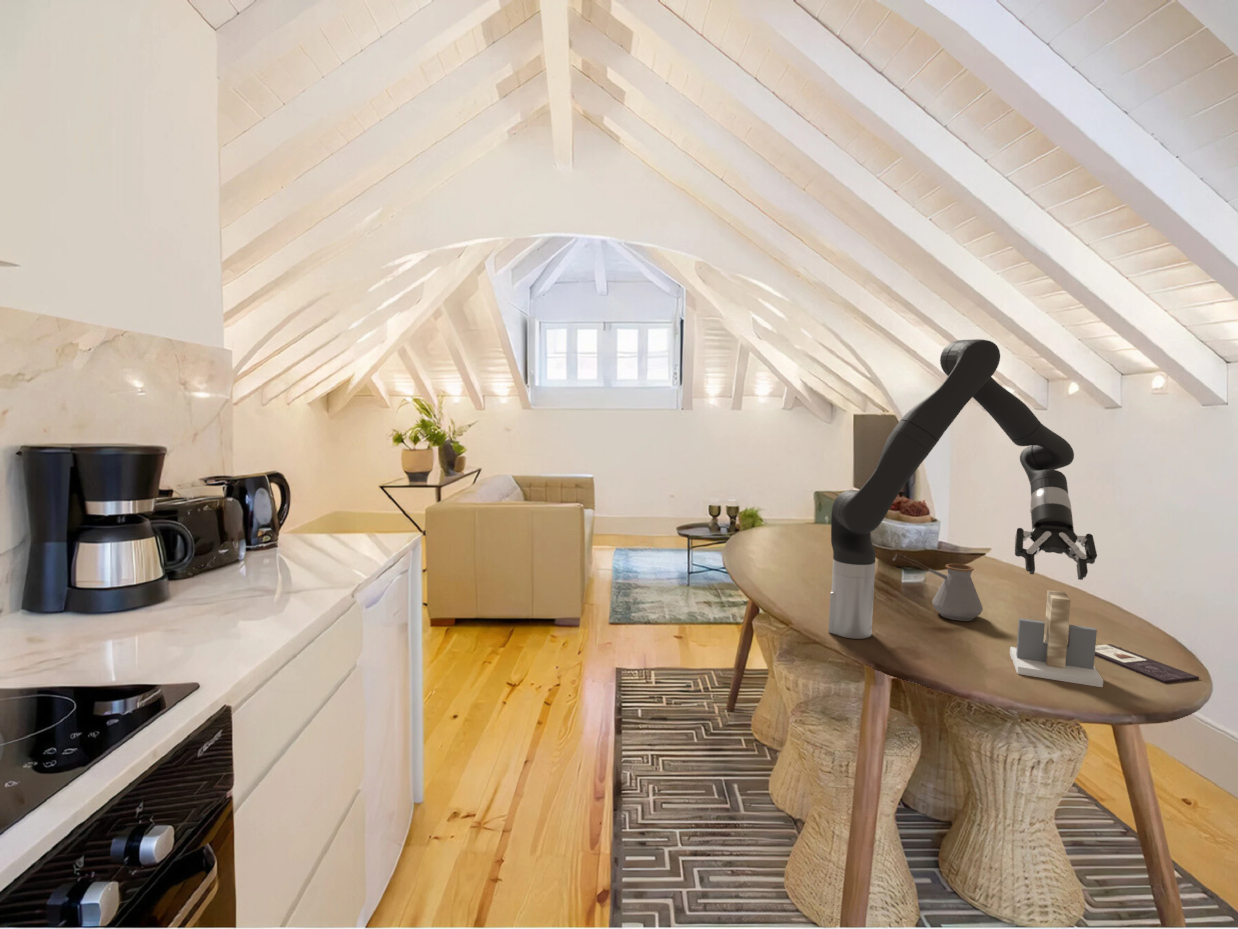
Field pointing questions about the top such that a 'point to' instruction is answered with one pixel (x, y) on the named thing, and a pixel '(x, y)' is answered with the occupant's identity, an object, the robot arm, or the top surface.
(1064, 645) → the birch slotted plate
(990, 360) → the robot arm
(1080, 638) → the grey notched stand
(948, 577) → the coffee pot
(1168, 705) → the top surface
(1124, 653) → the chocolate bar
